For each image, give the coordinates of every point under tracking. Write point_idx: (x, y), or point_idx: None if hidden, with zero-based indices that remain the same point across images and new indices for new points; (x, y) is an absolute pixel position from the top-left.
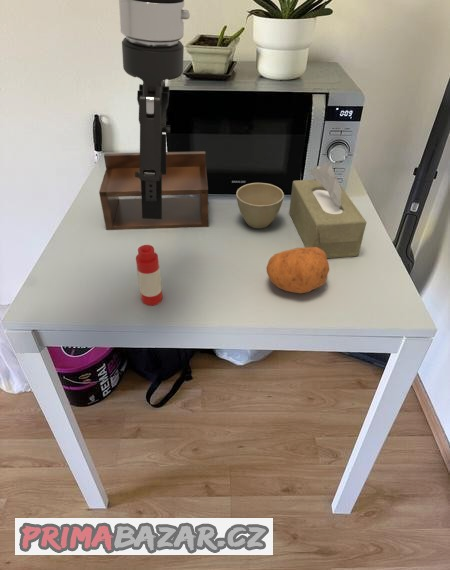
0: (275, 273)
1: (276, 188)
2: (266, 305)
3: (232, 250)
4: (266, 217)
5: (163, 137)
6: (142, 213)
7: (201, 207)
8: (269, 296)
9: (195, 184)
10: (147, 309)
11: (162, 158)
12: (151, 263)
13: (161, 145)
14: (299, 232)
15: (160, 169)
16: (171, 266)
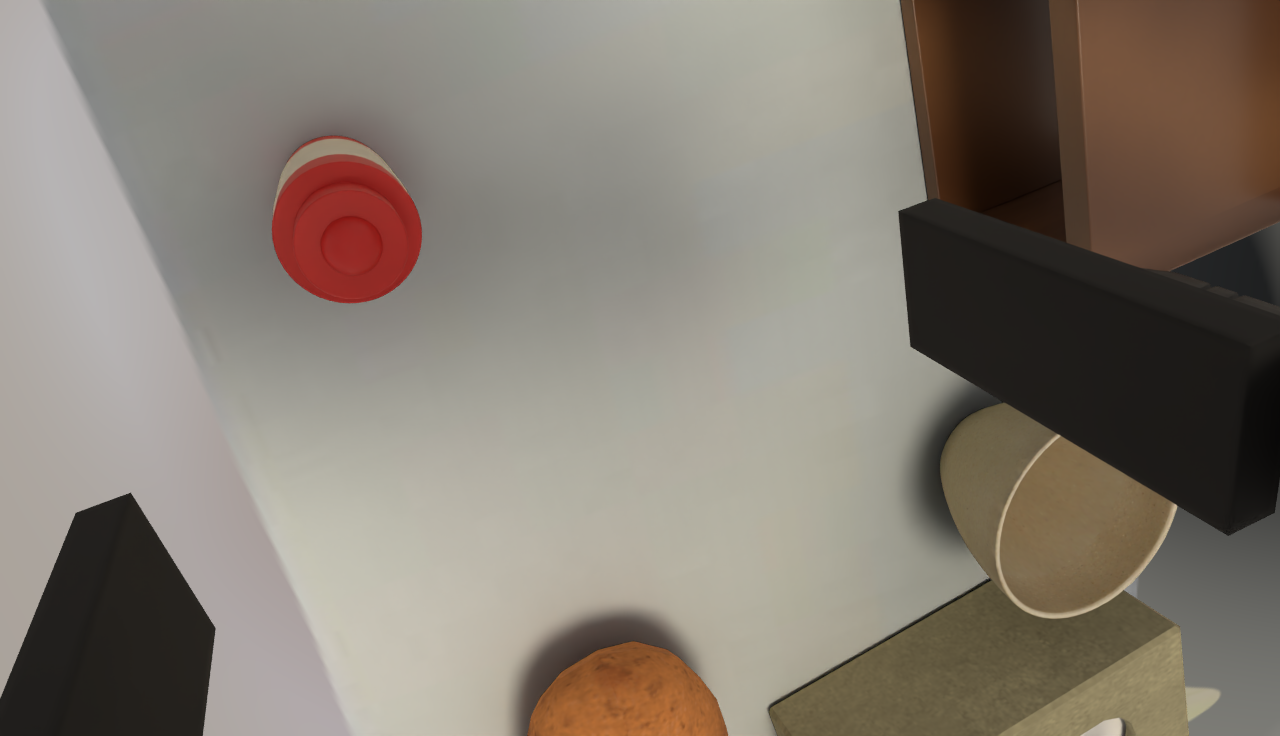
0: (553, 734)
1: (1137, 562)
2: (456, 658)
3: (777, 418)
4: (963, 539)
5: (1212, 502)
6: (61, 550)
7: None
8: (513, 649)
9: (1140, 219)
10: (250, 197)
11: (1016, 378)
12: (301, 284)
13: (1126, 435)
14: (920, 627)
15: (937, 319)
16: (607, 191)
